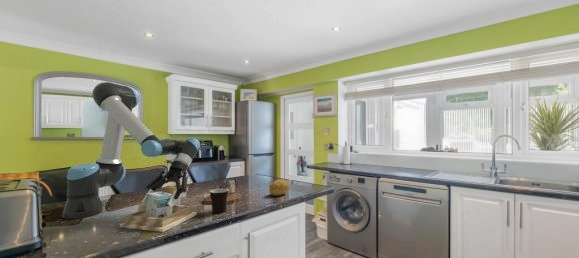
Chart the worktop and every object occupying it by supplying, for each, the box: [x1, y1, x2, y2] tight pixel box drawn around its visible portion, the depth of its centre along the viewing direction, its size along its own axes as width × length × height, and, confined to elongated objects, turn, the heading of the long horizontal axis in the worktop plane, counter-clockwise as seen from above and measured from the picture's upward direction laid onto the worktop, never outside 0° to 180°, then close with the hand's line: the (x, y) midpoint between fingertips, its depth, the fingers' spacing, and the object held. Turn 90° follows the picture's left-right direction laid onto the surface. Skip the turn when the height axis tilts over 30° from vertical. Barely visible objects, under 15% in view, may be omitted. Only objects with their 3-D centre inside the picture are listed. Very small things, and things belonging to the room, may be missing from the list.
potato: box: [268, 178, 289, 197], centre depth 154 cm, size 10×13×9 cm
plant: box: [203, 179, 242, 205], centre depth 144 cm, size 20×20×11 cm
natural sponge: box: [161, 184, 177, 194], centre depth 137 cm, size 9×9×10 cm
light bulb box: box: [145, 190, 172, 218], centre depth 110 cm, size 11×7×11 cm, turn 52°
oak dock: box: [119, 204, 198, 233], centre depth 111 cm, size 21×21×4 cm
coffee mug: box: [209, 188, 229, 214], centre depth 124 cm, size 12×9×10 cm
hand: (156, 204), depth 108 cm, fingers open, 12 cm apart
